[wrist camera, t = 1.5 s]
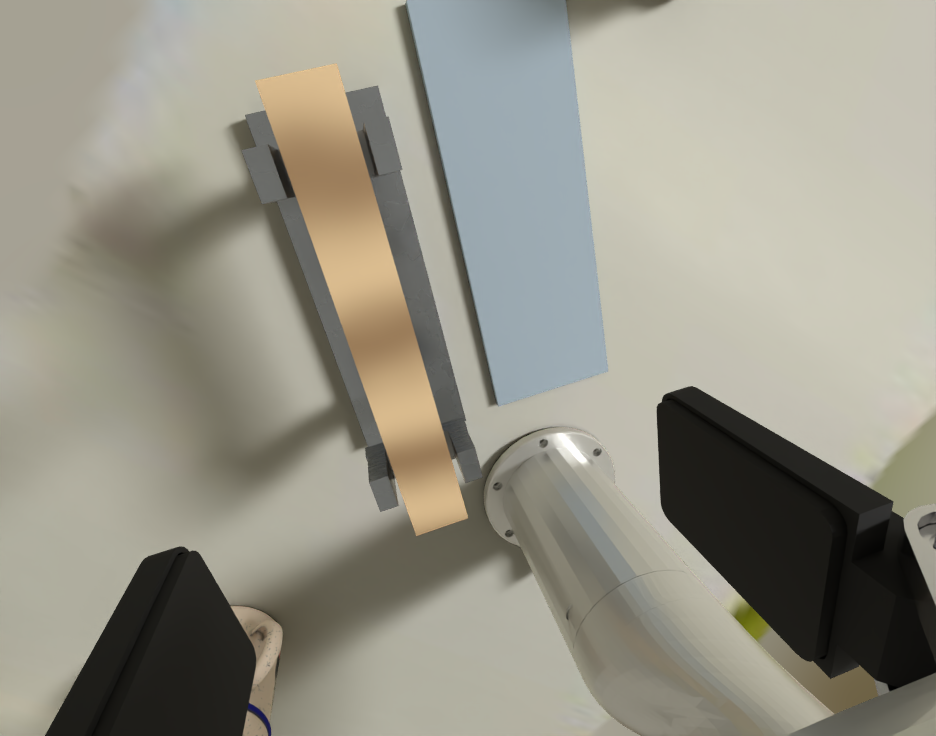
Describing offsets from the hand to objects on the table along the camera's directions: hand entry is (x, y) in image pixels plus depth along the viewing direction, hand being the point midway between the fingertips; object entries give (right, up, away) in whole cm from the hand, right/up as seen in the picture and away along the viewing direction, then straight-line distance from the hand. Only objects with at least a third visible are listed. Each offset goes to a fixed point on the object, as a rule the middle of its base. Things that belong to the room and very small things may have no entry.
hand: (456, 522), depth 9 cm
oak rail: (-4, +5, +13) cm, 15 cm away
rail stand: (-7, +9, +24) cm, 27 cm away
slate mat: (+4, +14, +25) cm, 29 cm away
